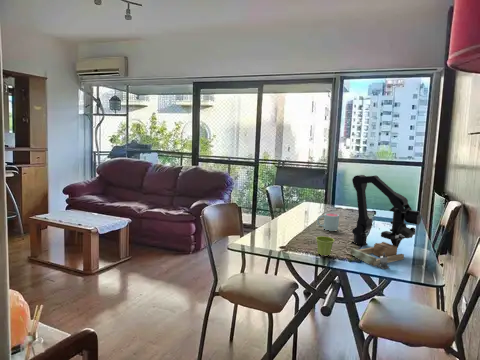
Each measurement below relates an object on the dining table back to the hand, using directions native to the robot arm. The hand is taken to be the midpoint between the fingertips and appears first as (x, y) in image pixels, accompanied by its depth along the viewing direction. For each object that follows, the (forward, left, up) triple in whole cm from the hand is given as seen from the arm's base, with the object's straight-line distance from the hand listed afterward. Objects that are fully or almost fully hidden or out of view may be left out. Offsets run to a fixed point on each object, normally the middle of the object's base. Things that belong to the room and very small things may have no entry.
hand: (395, 249), depth 194 cm
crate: (0, -8, -2) cm, 9 cm away
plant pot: (-14, -37, -3) cm, 40 cm away
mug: (-50, -2, -3) cm, 50 cm away
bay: (0, -14, -2) cm, 14 cm away
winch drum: (+11, -22, -2) cm, 25 cm away
